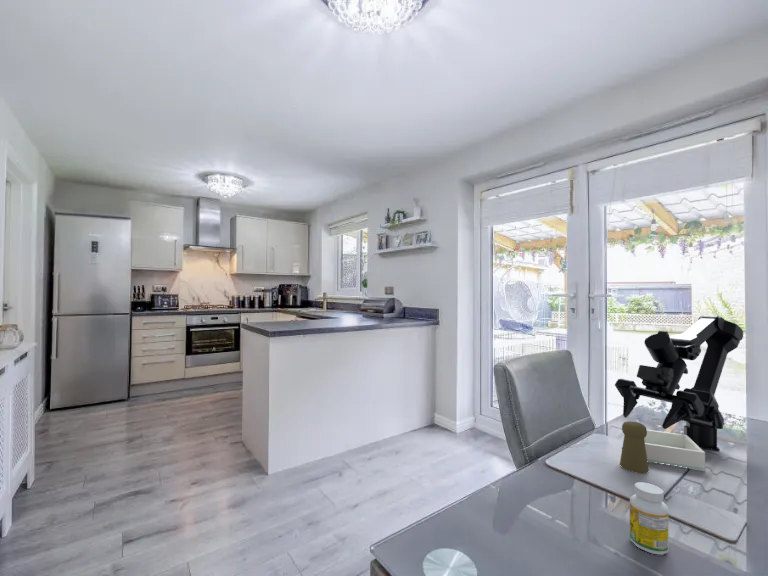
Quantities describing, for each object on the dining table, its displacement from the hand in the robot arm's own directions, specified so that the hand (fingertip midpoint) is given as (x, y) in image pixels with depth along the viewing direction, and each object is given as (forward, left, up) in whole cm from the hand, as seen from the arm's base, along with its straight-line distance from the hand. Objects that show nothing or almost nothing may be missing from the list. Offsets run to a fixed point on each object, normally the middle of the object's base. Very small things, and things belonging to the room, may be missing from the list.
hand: (643, 421), depth 95 cm
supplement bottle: (+6, +37, -11) cm, 39 cm away
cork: (+2, +3, -11) cm, 12 cm away
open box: (-7, -9, -11) cm, 15 cm away
